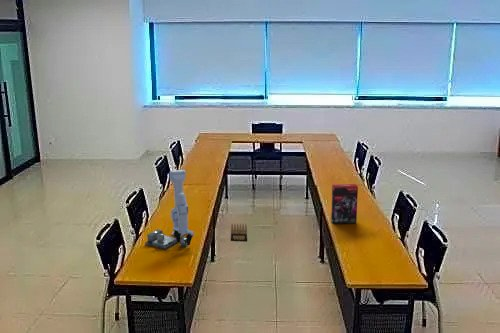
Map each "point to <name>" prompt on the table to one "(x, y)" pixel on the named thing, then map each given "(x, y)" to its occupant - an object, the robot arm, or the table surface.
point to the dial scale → (167, 243)
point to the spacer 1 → (160, 238)
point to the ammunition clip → (239, 233)
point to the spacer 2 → (183, 242)
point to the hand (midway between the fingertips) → (183, 243)
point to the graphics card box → (344, 203)
